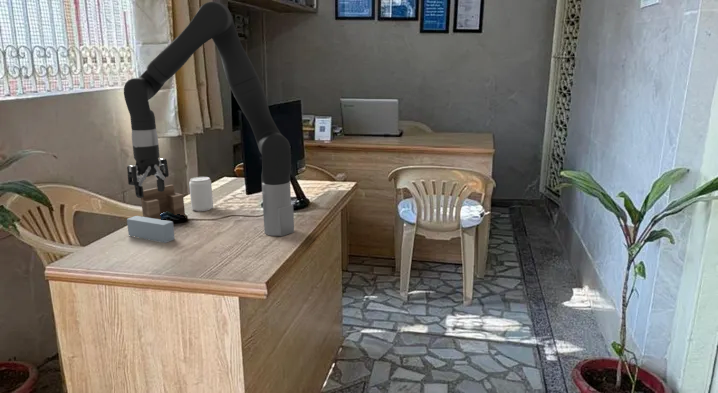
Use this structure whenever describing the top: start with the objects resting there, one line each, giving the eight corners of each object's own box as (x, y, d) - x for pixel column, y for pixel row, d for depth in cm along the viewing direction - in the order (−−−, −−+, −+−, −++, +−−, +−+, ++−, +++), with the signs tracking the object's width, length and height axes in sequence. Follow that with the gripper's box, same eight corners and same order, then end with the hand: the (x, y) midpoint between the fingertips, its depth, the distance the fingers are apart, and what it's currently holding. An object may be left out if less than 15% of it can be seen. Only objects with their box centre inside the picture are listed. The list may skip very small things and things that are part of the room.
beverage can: (209, 211, 201) (207, 181, 198) (188, 212, 202) (185, 181, 198) (215, 206, 209) (213, 176, 206) (195, 206, 209) (192, 176, 206)
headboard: (185, 218, 193) (182, 186, 190) (150, 227, 183) (146, 193, 180) (176, 215, 197) (173, 184, 194) (141, 224, 187) (138, 191, 184)
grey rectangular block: (174, 239, 172) (172, 221, 170) (165, 243, 168) (163, 225, 167) (138, 232, 178) (136, 215, 177) (128, 236, 175) (126, 218, 173)
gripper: (154, 139, 172) (158, 188, 176) (117, 146, 160) (124, 198, 164) (171, 141, 169) (176, 190, 173) (136, 148, 157) (141, 201, 161)
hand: (150, 194), depth 169 cm, fingers open, 8 cm apart
